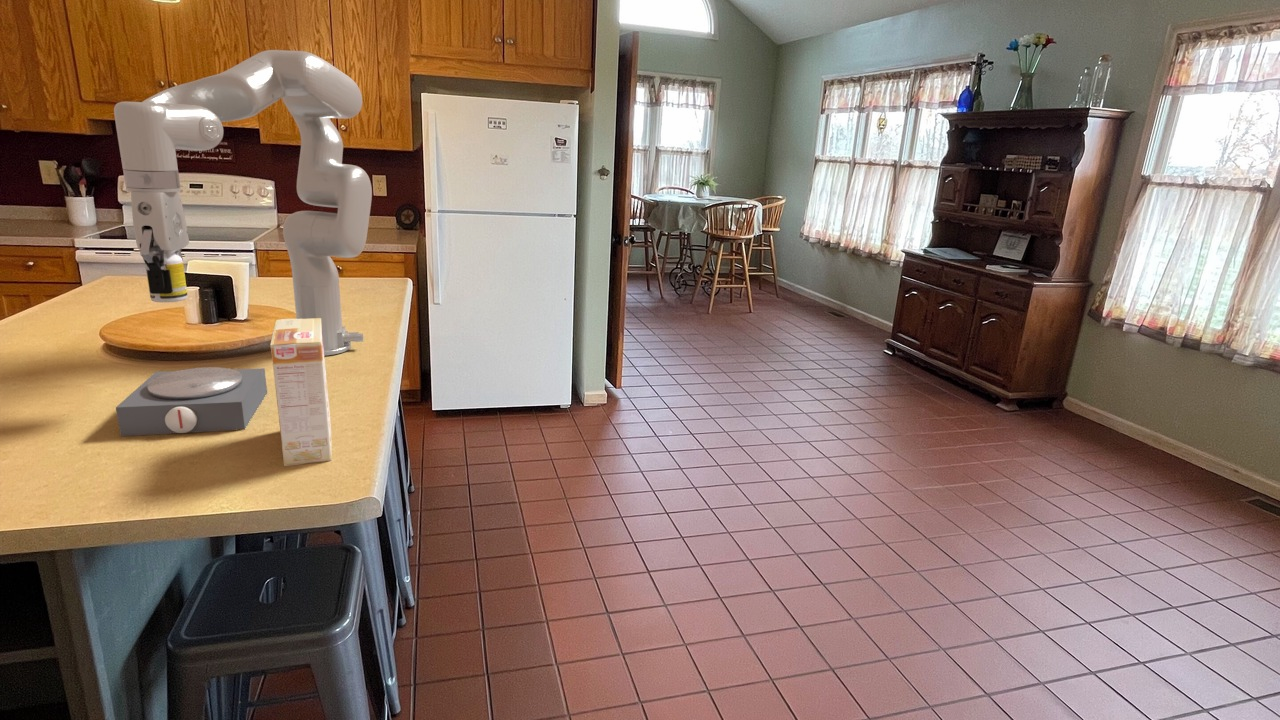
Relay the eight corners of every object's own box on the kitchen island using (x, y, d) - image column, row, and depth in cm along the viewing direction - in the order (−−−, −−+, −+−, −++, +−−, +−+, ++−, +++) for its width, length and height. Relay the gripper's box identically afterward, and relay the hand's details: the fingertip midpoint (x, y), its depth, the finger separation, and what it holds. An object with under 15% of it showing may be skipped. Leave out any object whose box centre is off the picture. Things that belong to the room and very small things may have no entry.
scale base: (267, 392, 135) (264, 368, 133) (243, 431, 117) (240, 404, 116) (159, 397, 130) (155, 371, 128) (118, 438, 112) (113, 409, 111)
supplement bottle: (195, 297, 123) (187, 242, 120) (172, 304, 118) (163, 246, 115) (167, 295, 124) (159, 240, 121) (142, 301, 119) (133, 244, 116)
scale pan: (250, 371, 131) (249, 366, 130) (231, 397, 118) (230, 391, 118) (164, 373, 127) (163, 368, 126) (134, 401, 114) (133, 395, 114)
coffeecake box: (286, 429, 119) (274, 318, 113) (331, 425, 122) (322, 316, 116) (281, 467, 106) (268, 344, 100) (332, 461, 109) (322, 341, 103)
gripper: (158, 186, 108) (175, 300, 114) (195, 179, 124) (208, 280, 129) (102, 184, 106) (122, 300, 112) (147, 177, 122) (162, 279, 127)
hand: (168, 288), depth 120 cm, fingers closed on supplement bottle, 5 cm apart
